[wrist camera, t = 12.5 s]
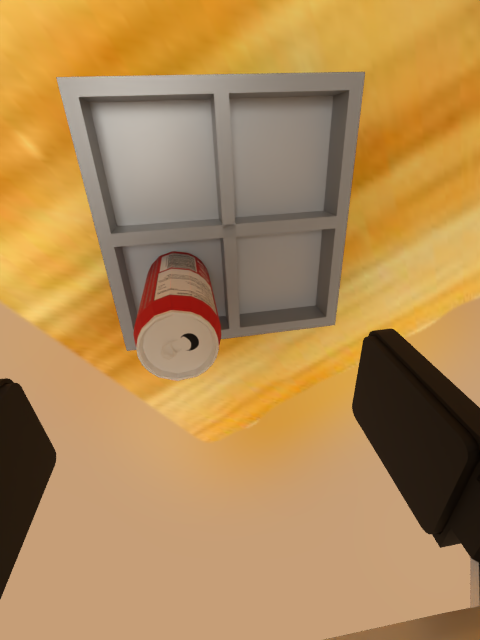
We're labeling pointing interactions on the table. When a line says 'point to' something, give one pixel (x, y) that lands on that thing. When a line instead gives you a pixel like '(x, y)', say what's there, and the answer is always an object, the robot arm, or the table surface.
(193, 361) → the soda can
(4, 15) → the table surface
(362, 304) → the table surface
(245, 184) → the drink carrier
